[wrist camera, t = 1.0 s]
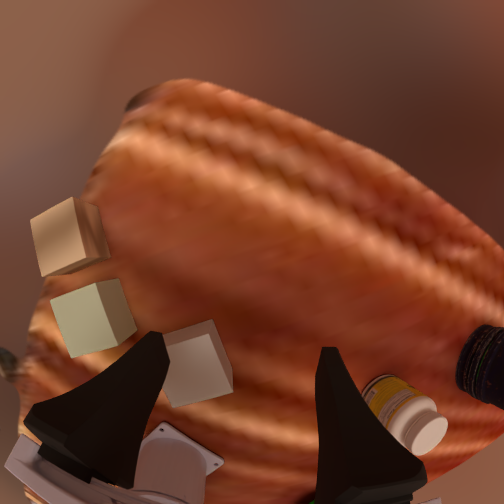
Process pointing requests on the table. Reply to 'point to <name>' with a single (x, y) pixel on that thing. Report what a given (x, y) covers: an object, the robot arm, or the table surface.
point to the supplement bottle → (406, 413)
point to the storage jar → (483, 365)
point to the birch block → (69, 238)
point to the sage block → (94, 317)
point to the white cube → (196, 365)
